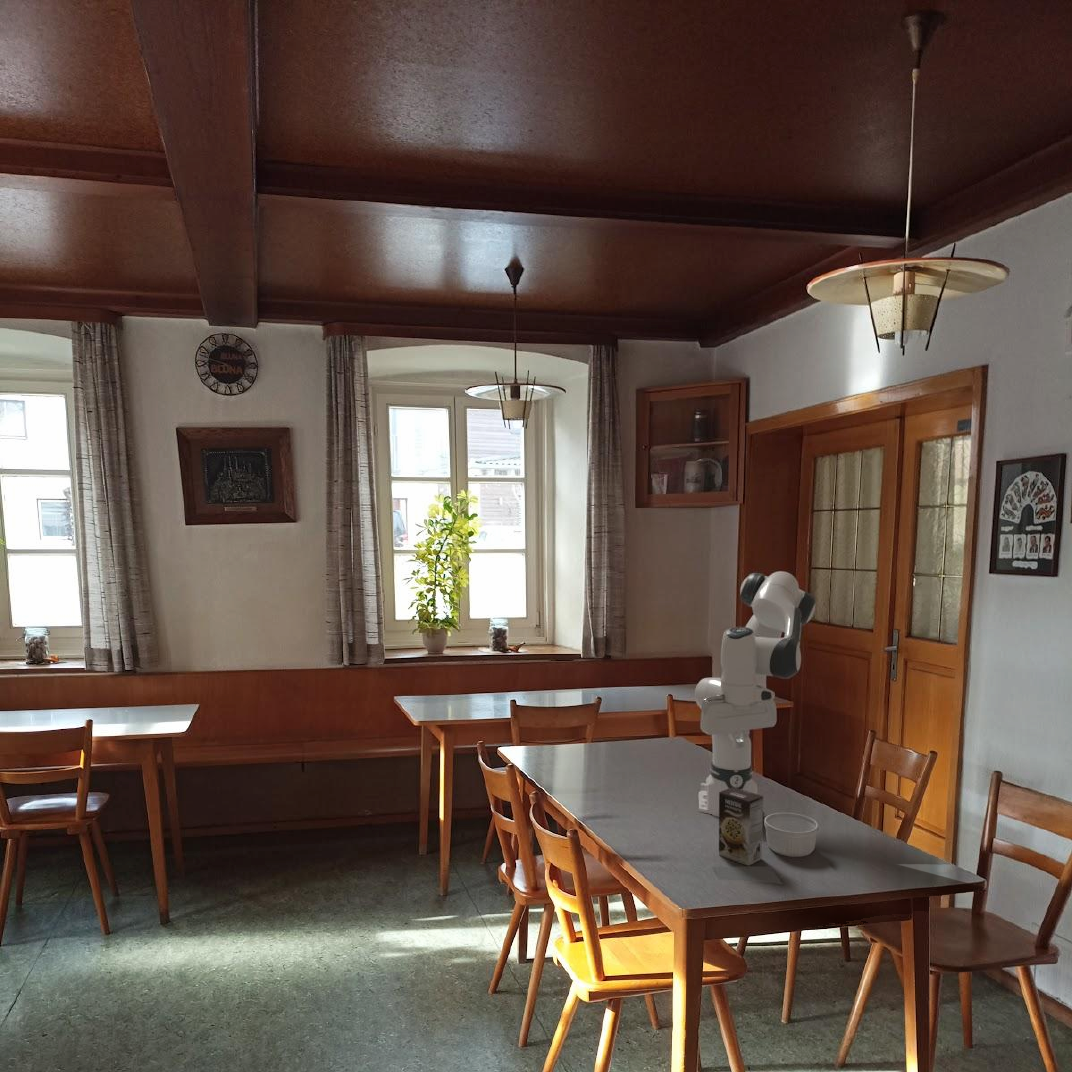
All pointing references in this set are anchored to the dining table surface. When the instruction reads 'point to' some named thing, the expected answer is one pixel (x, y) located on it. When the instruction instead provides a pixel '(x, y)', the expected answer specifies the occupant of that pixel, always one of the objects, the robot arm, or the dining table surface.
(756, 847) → the dark cardboard box
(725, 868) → the mat
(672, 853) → the dining table surface
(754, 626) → the robot arm
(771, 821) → the ramekin
